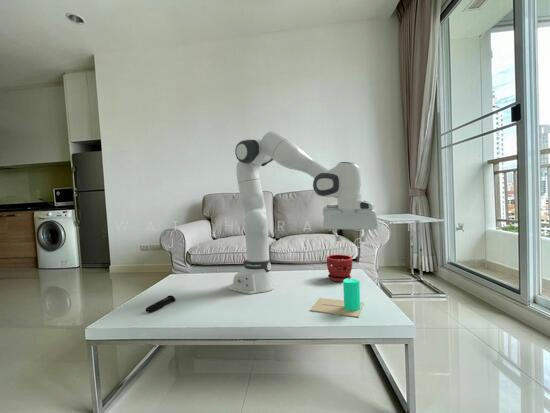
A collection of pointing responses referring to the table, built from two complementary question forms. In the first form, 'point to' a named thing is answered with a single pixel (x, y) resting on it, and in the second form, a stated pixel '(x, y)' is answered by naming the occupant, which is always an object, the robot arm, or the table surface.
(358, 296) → the candle
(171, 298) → the electric trimmer
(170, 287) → the table surface
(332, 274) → the plant pot
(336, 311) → the tan flat wooden board
